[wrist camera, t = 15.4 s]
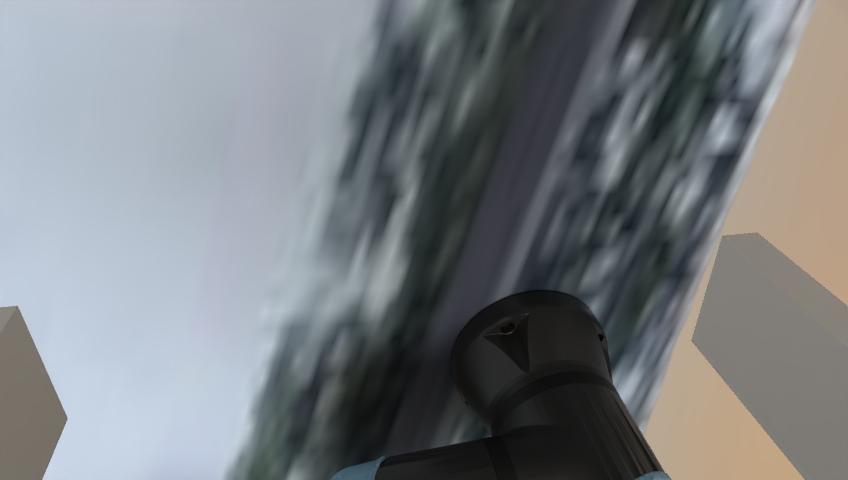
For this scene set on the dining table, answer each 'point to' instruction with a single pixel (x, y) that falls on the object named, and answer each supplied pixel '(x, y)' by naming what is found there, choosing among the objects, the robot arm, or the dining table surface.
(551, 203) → the dining table surface
